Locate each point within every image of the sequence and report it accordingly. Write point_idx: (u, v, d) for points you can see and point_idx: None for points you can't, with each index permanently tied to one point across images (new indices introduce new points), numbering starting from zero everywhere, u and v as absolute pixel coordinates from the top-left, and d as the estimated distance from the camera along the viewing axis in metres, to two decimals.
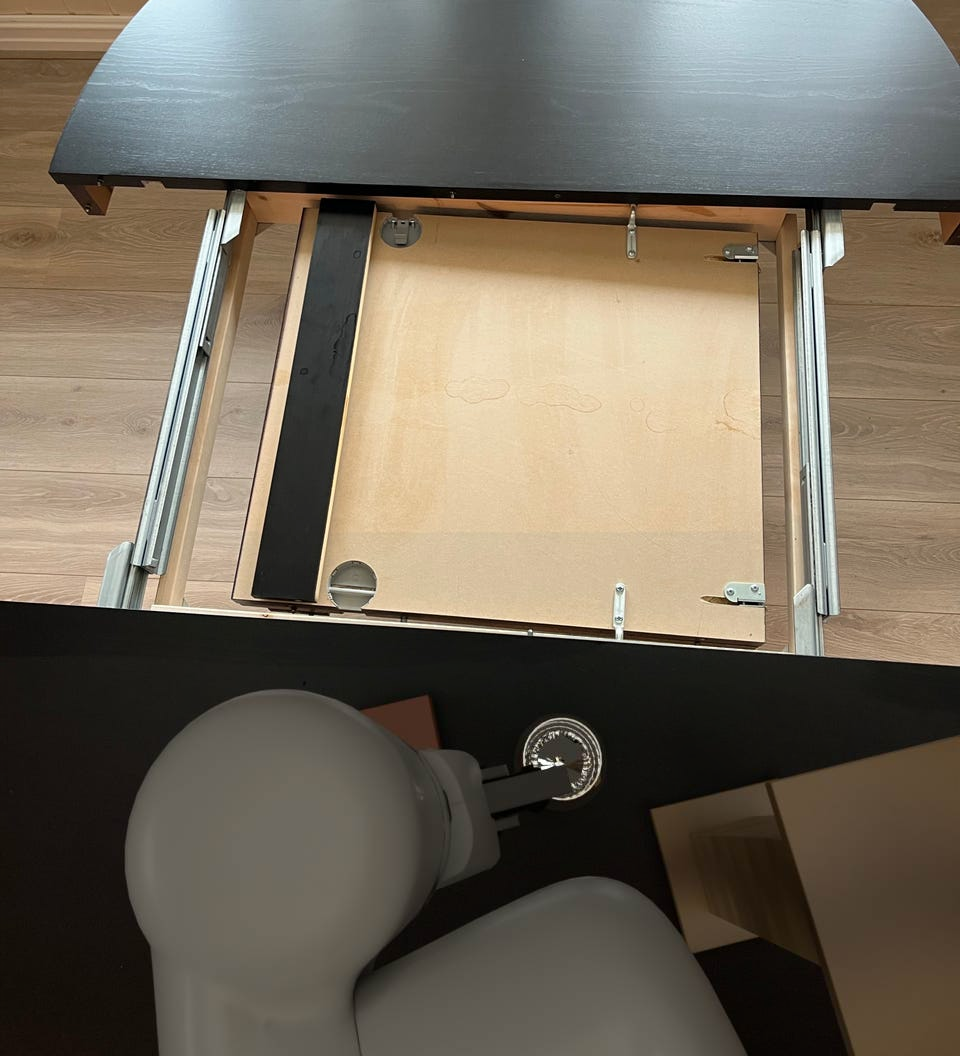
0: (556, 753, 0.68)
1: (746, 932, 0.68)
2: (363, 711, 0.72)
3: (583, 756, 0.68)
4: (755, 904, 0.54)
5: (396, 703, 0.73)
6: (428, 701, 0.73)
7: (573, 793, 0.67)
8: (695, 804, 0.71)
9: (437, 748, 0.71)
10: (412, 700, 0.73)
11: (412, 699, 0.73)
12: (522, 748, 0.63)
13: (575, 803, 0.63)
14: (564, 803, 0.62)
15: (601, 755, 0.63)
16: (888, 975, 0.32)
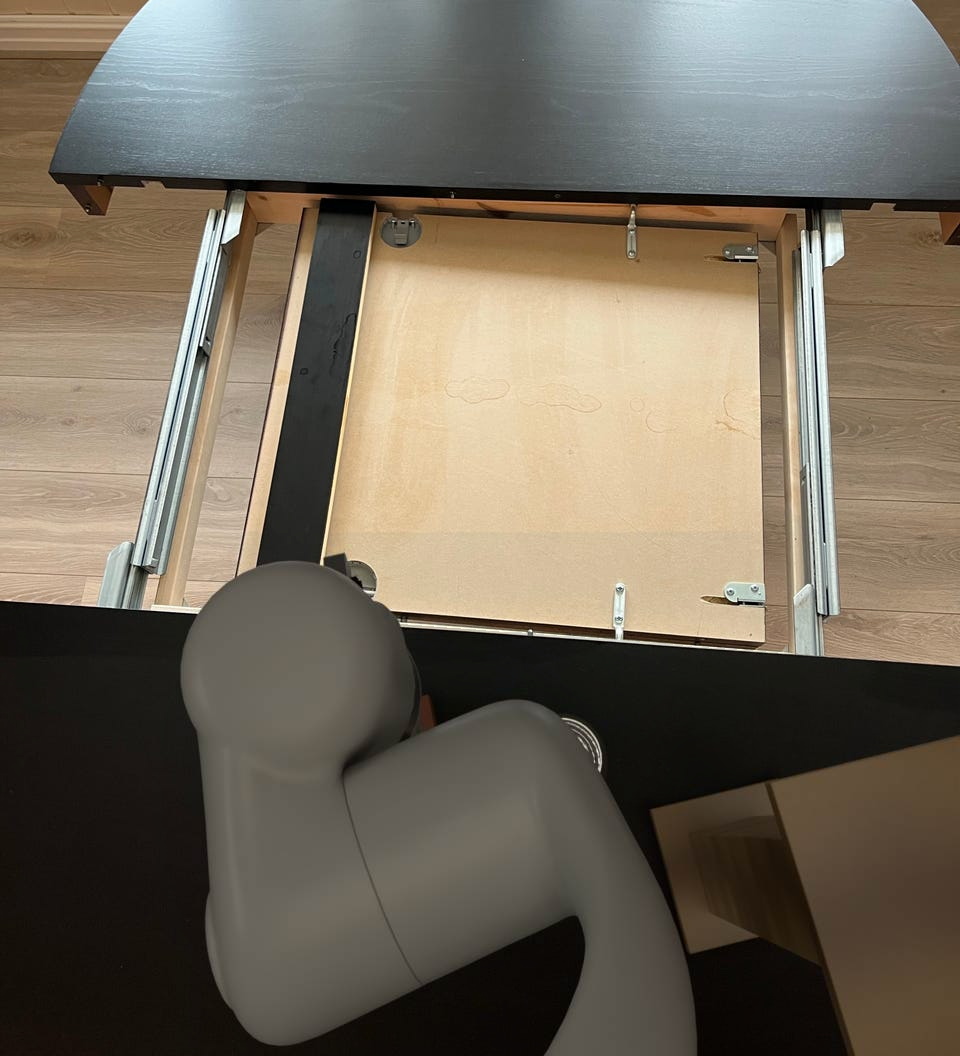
0: None
1: (746, 932, 0.68)
2: None
3: None
4: (755, 904, 0.54)
5: None
6: (428, 701, 0.73)
7: None
8: (695, 804, 0.71)
9: None
10: None
11: None
12: None
13: None
14: None
15: (601, 755, 0.63)
16: (888, 975, 0.32)
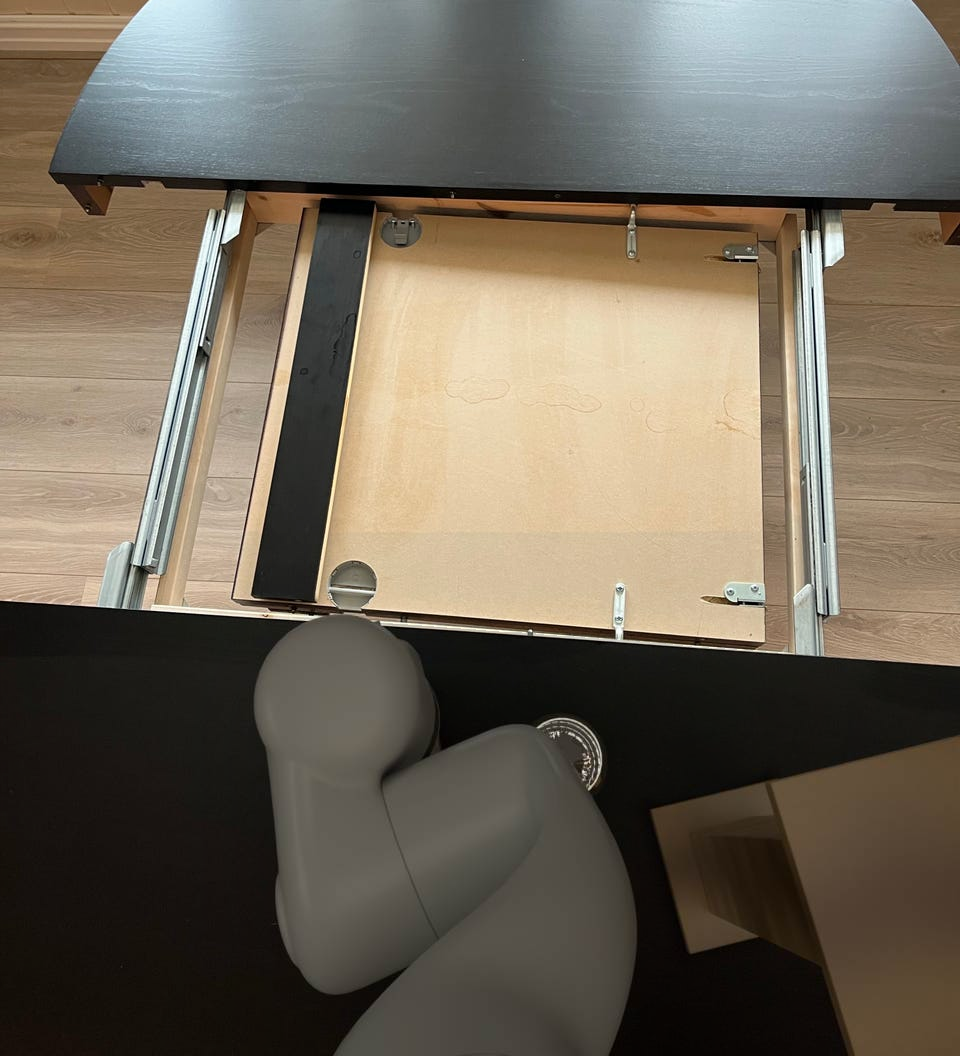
0: None
1: (746, 932, 0.68)
2: None
3: (583, 756, 0.68)
4: (755, 904, 0.54)
5: None
6: None
7: None
8: (695, 804, 0.71)
9: None
10: None
11: None
12: None
13: None
14: None
15: (601, 755, 0.63)
16: (888, 975, 0.32)
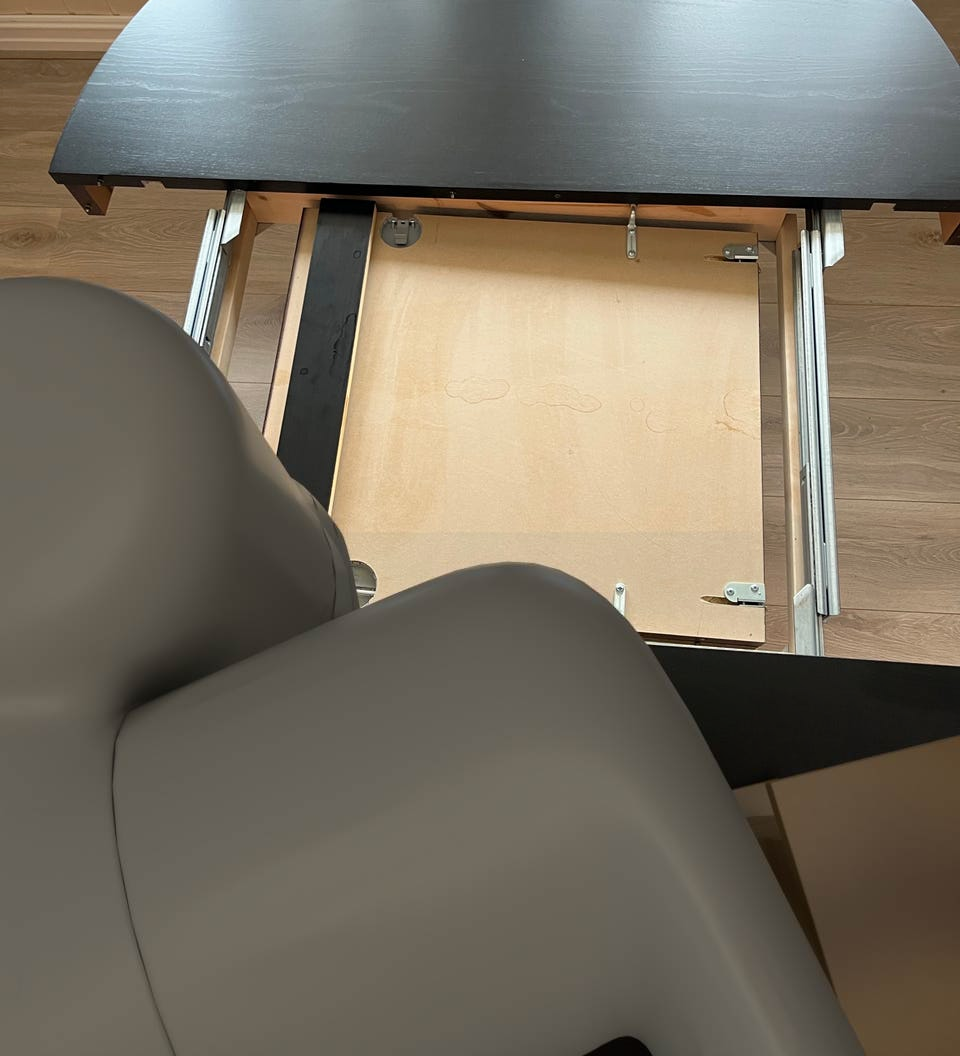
0: None
1: None
2: None
3: None
4: None
5: None
6: None
7: None
8: None
9: None
10: None
11: None
12: None
13: None
14: None
15: None
16: (888, 975, 0.32)
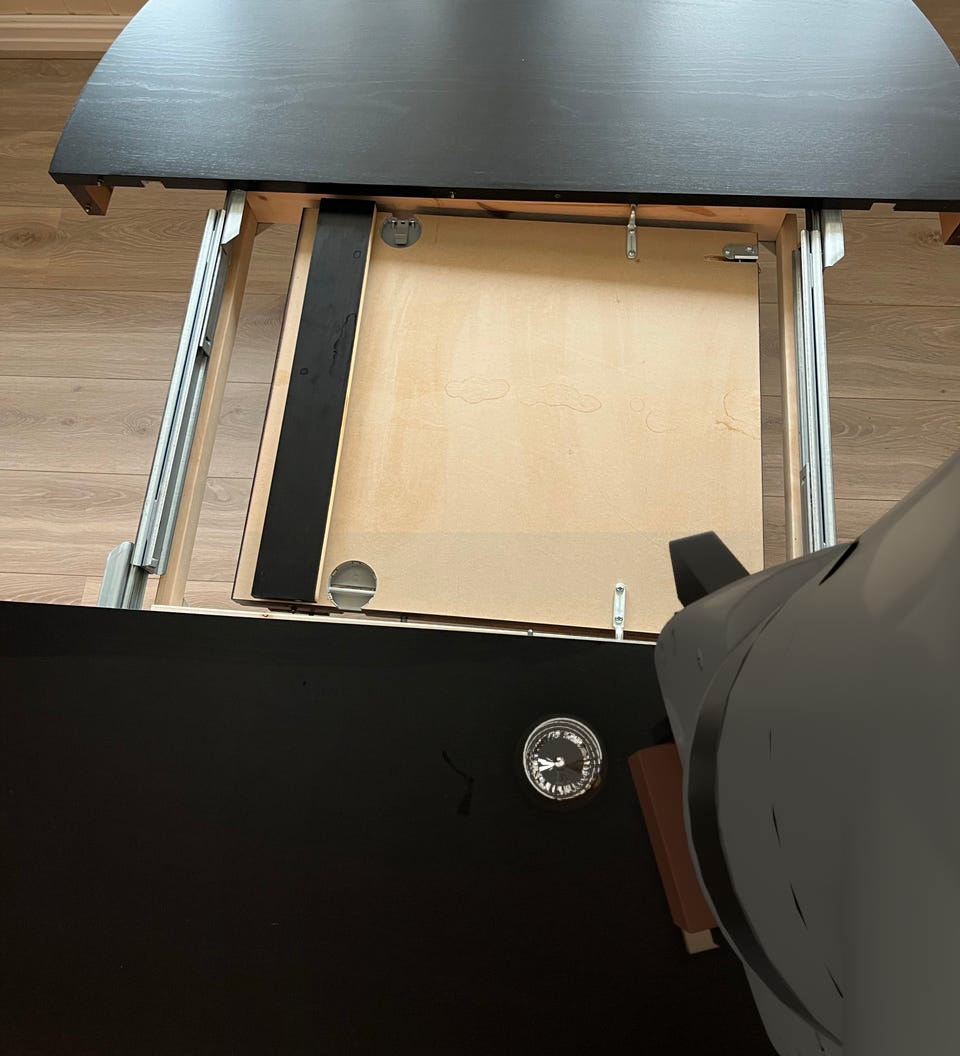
0: (556, 753, 0.68)
1: None
2: (652, 751, 0.31)
3: (583, 756, 0.68)
4: None
5: None
6: None
7: (573, 793, 0.67)
8: None
9: None
10: None
11: None
12: (522, 748, 0.63)
13: (575, 803, 0.63)
14: (564, 803, 0.62)
15: (601, 755, 0.63)
16: None
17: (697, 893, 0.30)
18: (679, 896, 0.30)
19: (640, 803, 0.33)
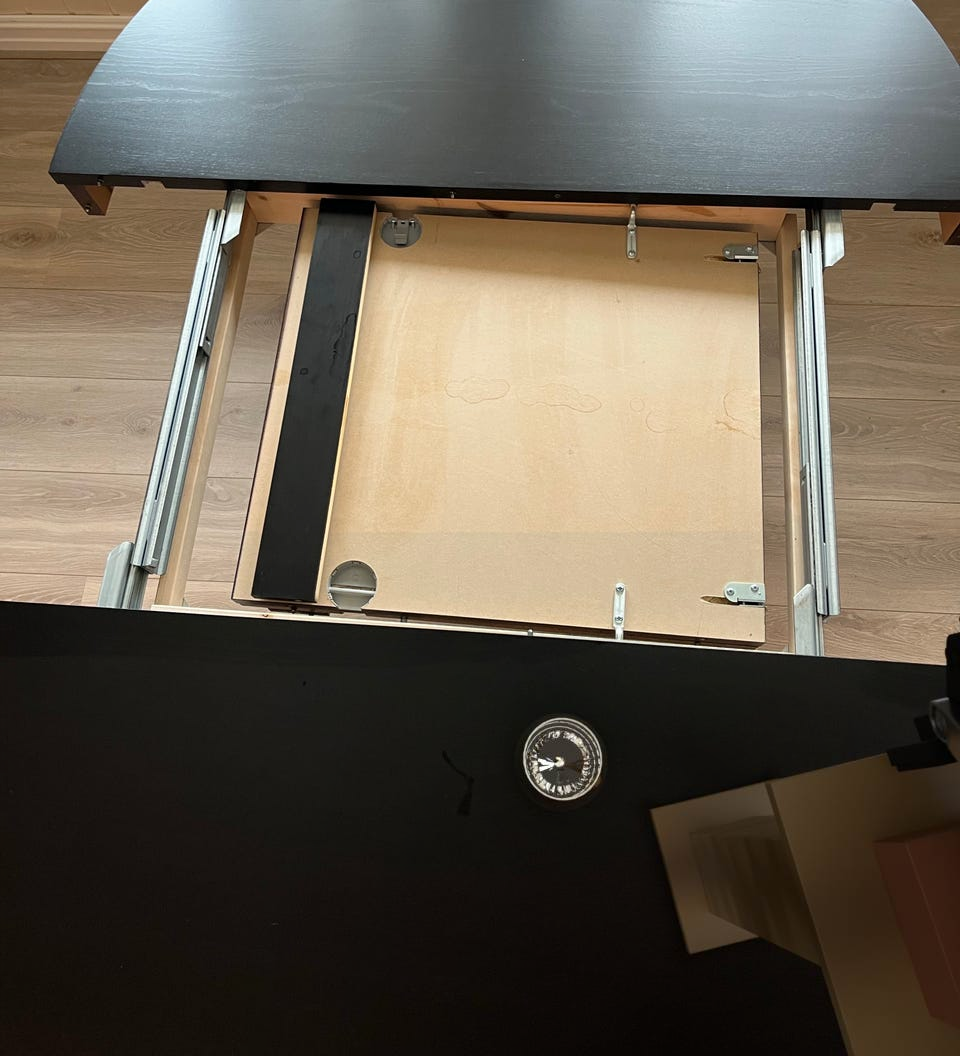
0: (556, 753, 0.68)
1: (746, 932, 0.68)
2: (921, 844, 0.31)
3: (583, 756, 0.68)
4: (755, 904, 0.54)
5: None
6: None
7: (573, 793, 0.67)
8: (695, 804, 0.71)
9: None
10: None
11: None
12: (522, 748, 0.63)
13: (575, 803, 0.63)
14: (564, 803, 0.62)
15: (601, 755, 0.63)
16: (888, 975, 0.32)
17: None
18: (958, 996, 0.29)
19: (888, 889, 0.33)
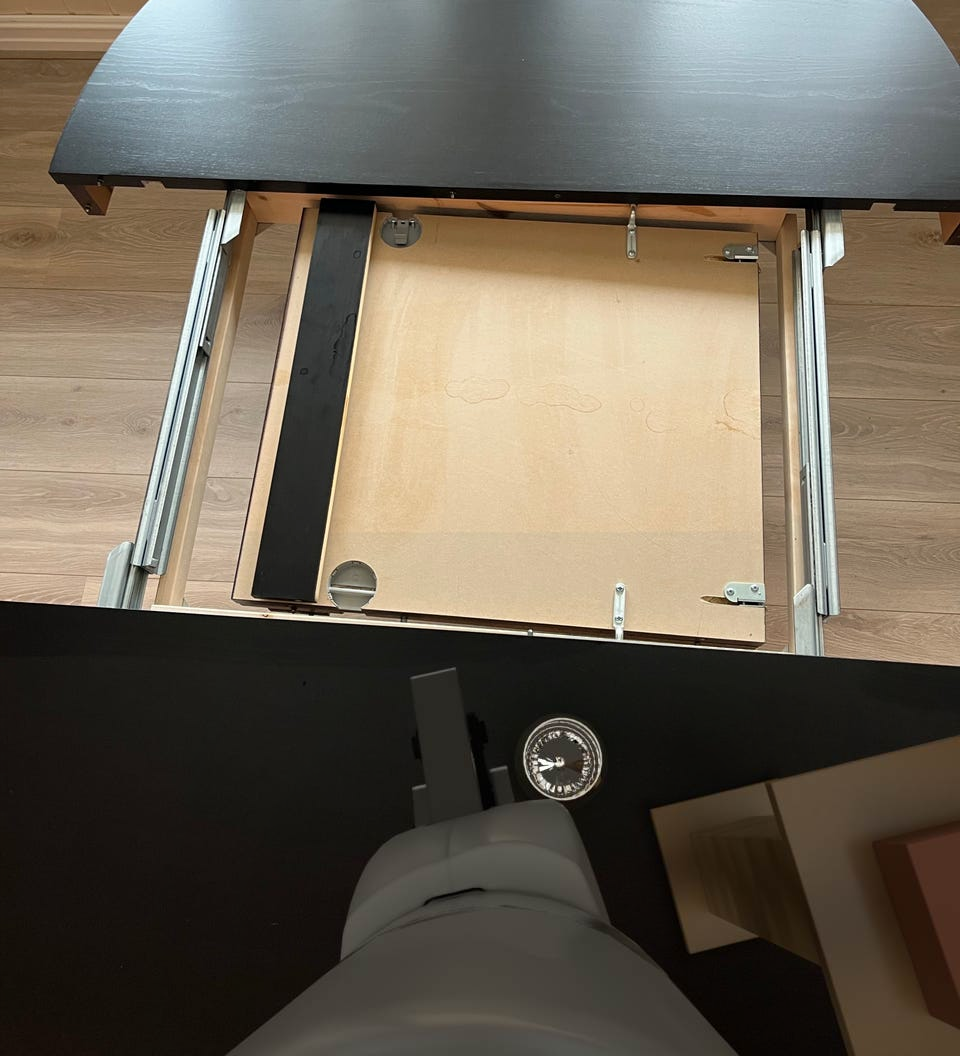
0: (556, 753, 0.68)
1: (746, 932, 0.68)
2: (921, 844, 0.31)
3: (583, 756, 0.68)
4: (755, 904, 0.54)
5: None
6: None
7: (573, 793, 0.67)
8: (695, 804, 0.71)
9: None
10: None
11: None
12: (522, 748, 0.63)
13: (575, 803, 0.63)
14: (564, 803, 0.62)
15: (601, 755, 0.63)
16: (888, 975, 0.32)
17: None
18: (958, 996, 0.29)
19: (888, 889, 0.33)
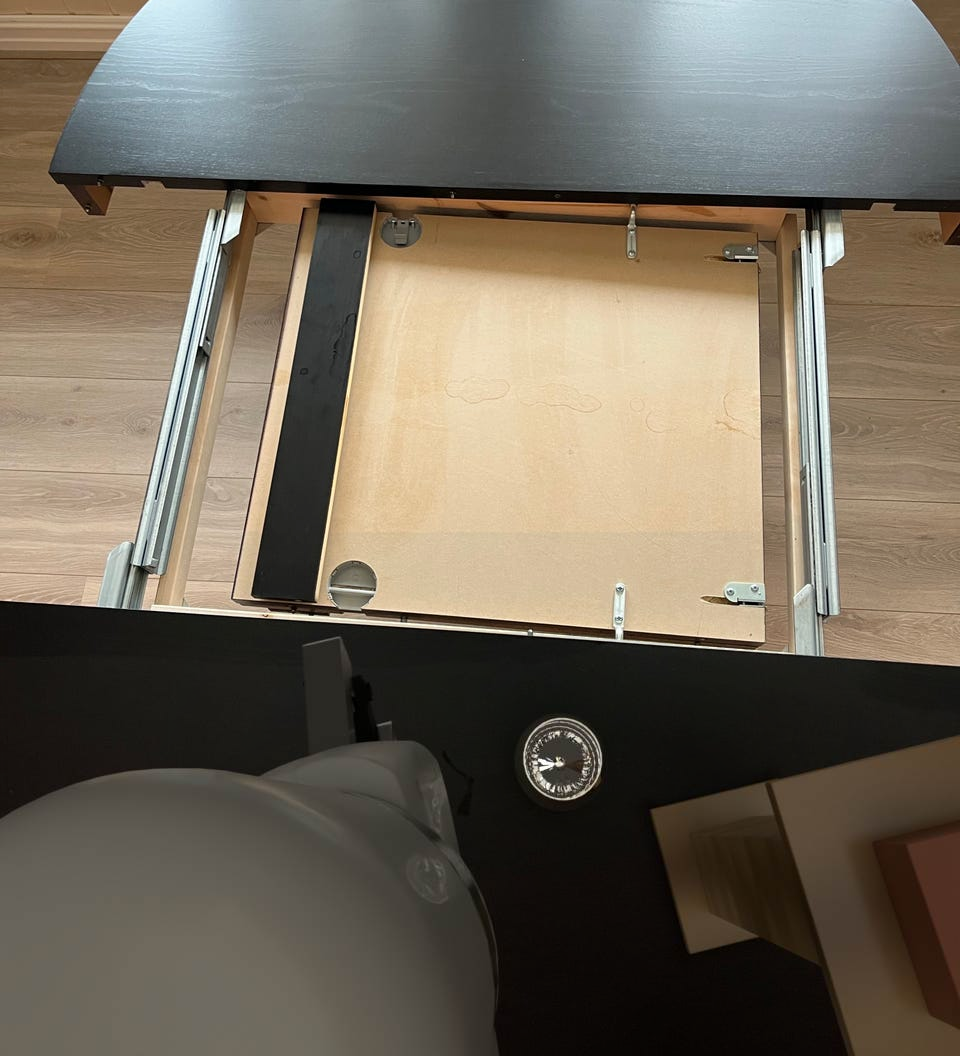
0: (556, 753, 0.68)
1: (746, 932, 0.68)
2: (921, 844, 0.31)
3: (583, 756, 0.68)
4: (755, 904, 0.54)
5: None
6: None
7: (573, 793, 0.67)
8: (695, 804, 0.71)
9: None
10: None
11: None
12: (522, 748, 0.63)
13: (575, 803, 0.63)
14: (564, 803, 0.62)
15: (601, 755, 0.63)
16: (888, 975, 0.32)
17: None
18: (958, 996, 0.29)
19: (888, 889, 0.33)
